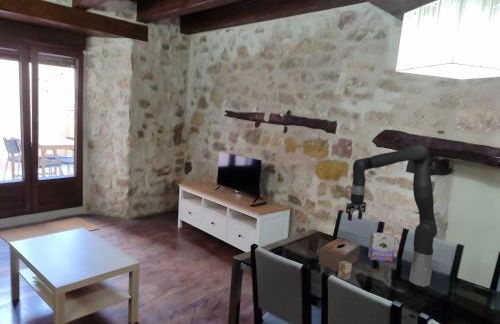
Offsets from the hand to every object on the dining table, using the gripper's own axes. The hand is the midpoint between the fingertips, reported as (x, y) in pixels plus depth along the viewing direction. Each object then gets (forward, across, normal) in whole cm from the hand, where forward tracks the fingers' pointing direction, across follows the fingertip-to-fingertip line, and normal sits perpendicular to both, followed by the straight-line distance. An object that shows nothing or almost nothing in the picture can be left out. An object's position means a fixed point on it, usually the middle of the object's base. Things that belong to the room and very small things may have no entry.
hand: (354, 219), depth 208 cm
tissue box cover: (+26, -6, +3) cm, 27 cm away
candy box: (+26, +22, -4) cm, 34 cm away
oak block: (+26, -20, -14) cm, 35 cm away
